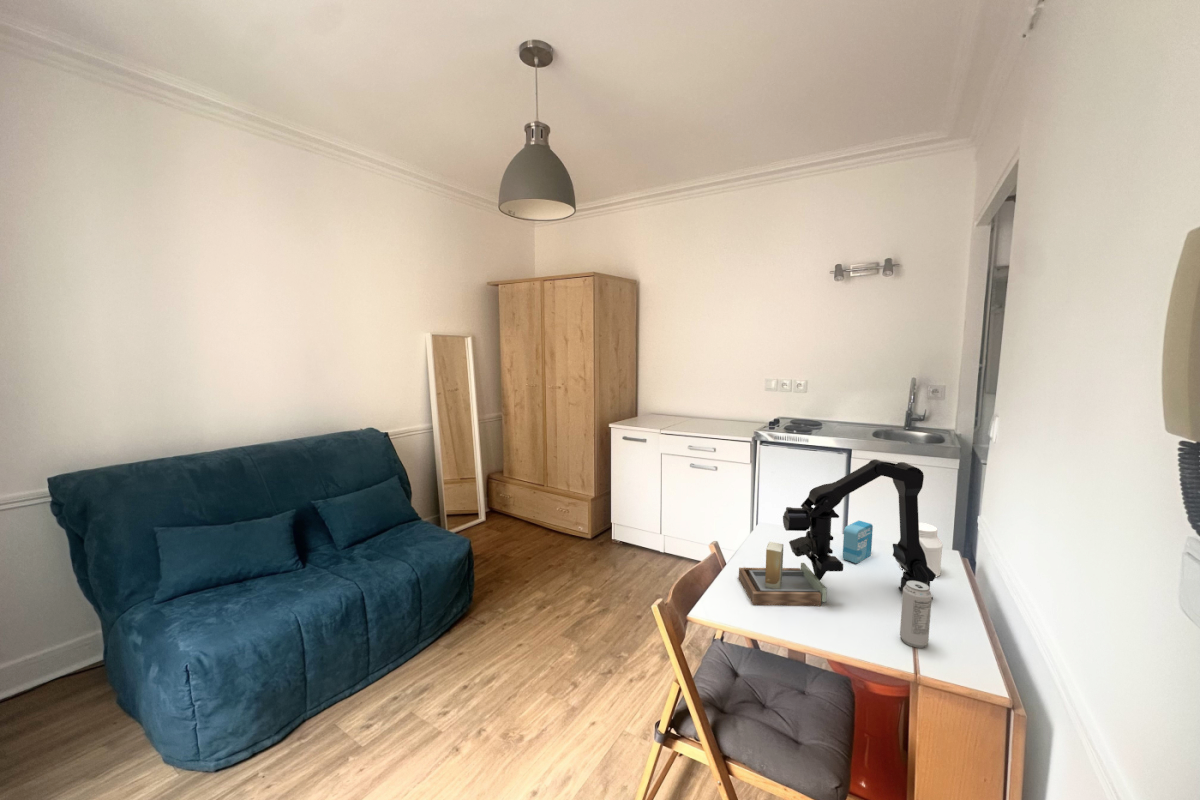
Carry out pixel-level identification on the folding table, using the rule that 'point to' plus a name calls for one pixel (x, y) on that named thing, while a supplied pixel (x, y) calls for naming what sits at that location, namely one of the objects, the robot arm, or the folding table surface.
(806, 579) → the tray
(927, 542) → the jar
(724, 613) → the folding table surface
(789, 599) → the caddy
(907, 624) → the energy drink can
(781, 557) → the skincare box
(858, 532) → the blue printed box
